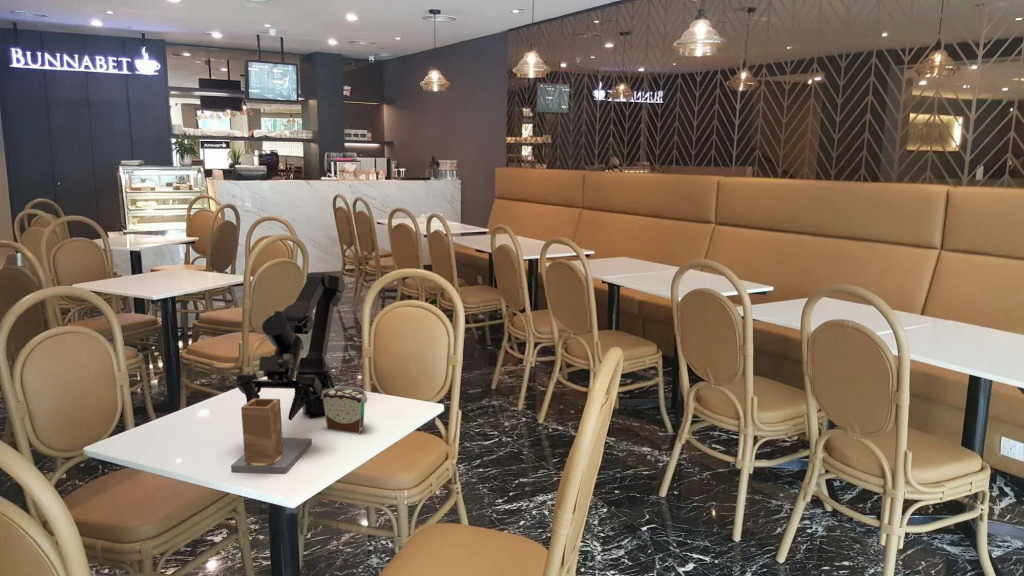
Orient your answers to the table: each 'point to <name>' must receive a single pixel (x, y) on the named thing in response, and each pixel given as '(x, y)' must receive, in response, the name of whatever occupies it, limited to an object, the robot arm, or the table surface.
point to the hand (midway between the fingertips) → (269, 419)
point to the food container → (344, 409)
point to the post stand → (283, 463)
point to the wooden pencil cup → (262, 430)
